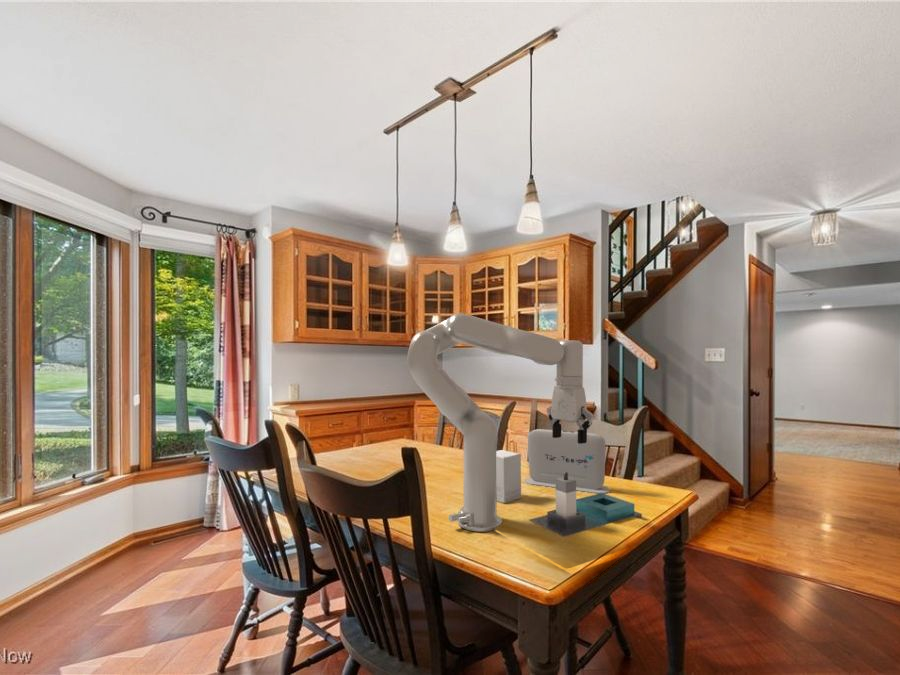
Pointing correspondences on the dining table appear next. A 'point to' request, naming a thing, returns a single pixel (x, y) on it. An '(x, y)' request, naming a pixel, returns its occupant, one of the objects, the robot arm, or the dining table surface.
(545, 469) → the wireless router
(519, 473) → the supplement box
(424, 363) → the robot arm
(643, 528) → the dining table surface
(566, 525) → the panel
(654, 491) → the dining table surface
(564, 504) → the plug
